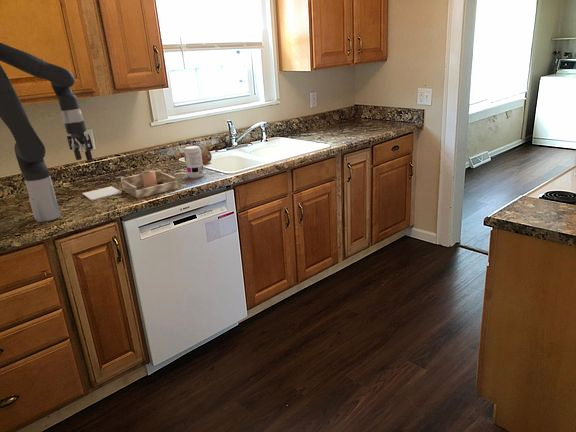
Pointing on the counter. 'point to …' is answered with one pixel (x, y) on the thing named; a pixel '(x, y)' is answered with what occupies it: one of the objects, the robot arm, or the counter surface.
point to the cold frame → (136, 181)
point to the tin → (205, 156)
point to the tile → (101, 193)
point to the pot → (149, 178)
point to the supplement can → (194, 161)
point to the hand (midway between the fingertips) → (84, 160)
